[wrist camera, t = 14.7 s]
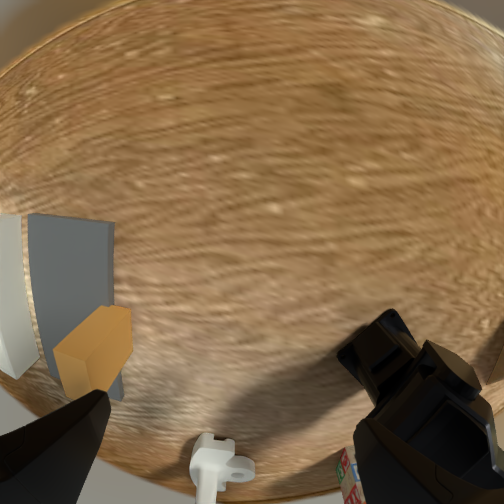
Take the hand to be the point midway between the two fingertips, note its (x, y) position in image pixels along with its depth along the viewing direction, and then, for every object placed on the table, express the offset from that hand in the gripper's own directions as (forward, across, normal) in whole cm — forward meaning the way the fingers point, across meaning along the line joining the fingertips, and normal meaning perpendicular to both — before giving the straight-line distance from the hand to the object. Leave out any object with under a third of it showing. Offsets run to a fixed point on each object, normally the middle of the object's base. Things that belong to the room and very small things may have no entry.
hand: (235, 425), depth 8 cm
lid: (+13, +15, +5) cm, 20 cm away
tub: (+13, +26, +4) cm, 29 cm away
